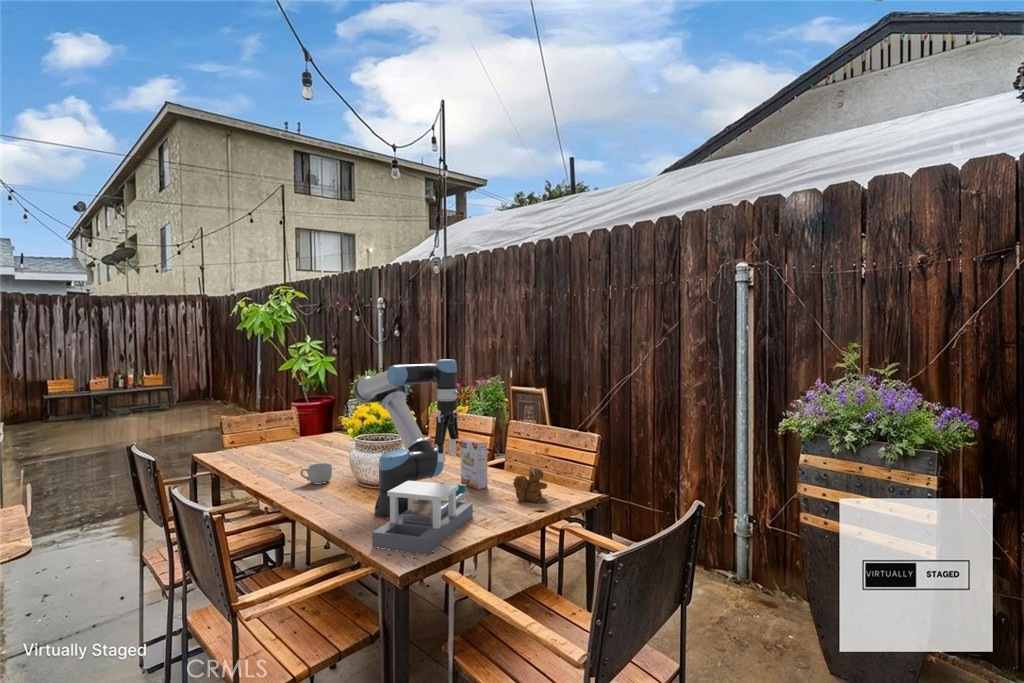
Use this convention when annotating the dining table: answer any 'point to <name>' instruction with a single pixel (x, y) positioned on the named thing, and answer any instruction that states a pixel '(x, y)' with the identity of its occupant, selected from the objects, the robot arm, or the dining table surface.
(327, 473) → the teacup
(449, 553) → the dining table surface
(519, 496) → the stuffed squirrel
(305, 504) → the dining table surface
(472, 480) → the cracker box
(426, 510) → the beige rounded lump
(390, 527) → the tunnel track
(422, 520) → the sled
